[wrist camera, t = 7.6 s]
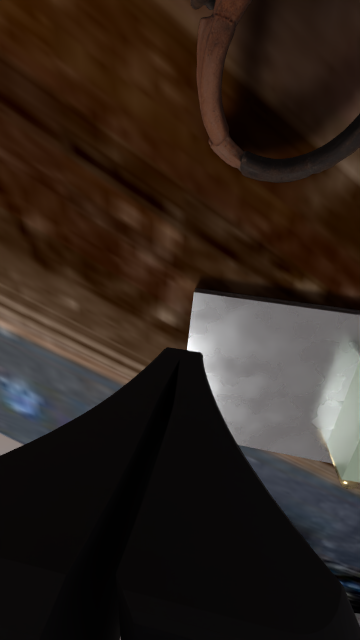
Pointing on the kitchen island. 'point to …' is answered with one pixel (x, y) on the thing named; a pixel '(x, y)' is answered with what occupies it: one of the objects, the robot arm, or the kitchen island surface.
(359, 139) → the pottery mug
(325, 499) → the kitchen island surface
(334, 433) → the pale green block
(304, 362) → the chassis
